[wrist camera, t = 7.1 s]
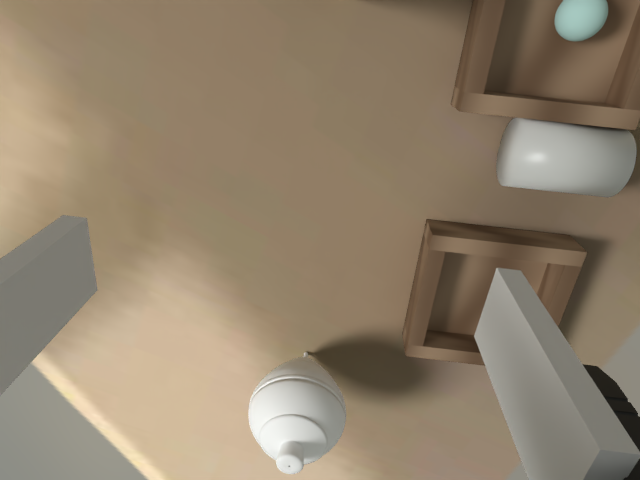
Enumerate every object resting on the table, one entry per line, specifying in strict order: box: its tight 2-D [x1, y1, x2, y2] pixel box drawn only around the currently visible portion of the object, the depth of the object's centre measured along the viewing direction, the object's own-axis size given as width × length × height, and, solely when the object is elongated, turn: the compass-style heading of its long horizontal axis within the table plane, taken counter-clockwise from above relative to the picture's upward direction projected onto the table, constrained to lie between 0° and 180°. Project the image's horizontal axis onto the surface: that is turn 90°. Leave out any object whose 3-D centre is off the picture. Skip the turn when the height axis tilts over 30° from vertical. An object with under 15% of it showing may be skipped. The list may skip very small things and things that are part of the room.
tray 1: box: [451, 0, 640, 130], centre depth 28 cm, size 11×11×3 cm
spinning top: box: [248, 352, 346, 474], centre depth 36 cm, size 8×8×12 cm
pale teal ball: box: [554, 0, 608, 41], centre depth 27 cm, size 3×3×3 cm
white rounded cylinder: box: [496, 118, 637, 197], centre depth 30 cm, size 7×5×5 cm
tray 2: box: [402, 219, 588, 365], centre depth 36 cm, size 11×11×3 cm
